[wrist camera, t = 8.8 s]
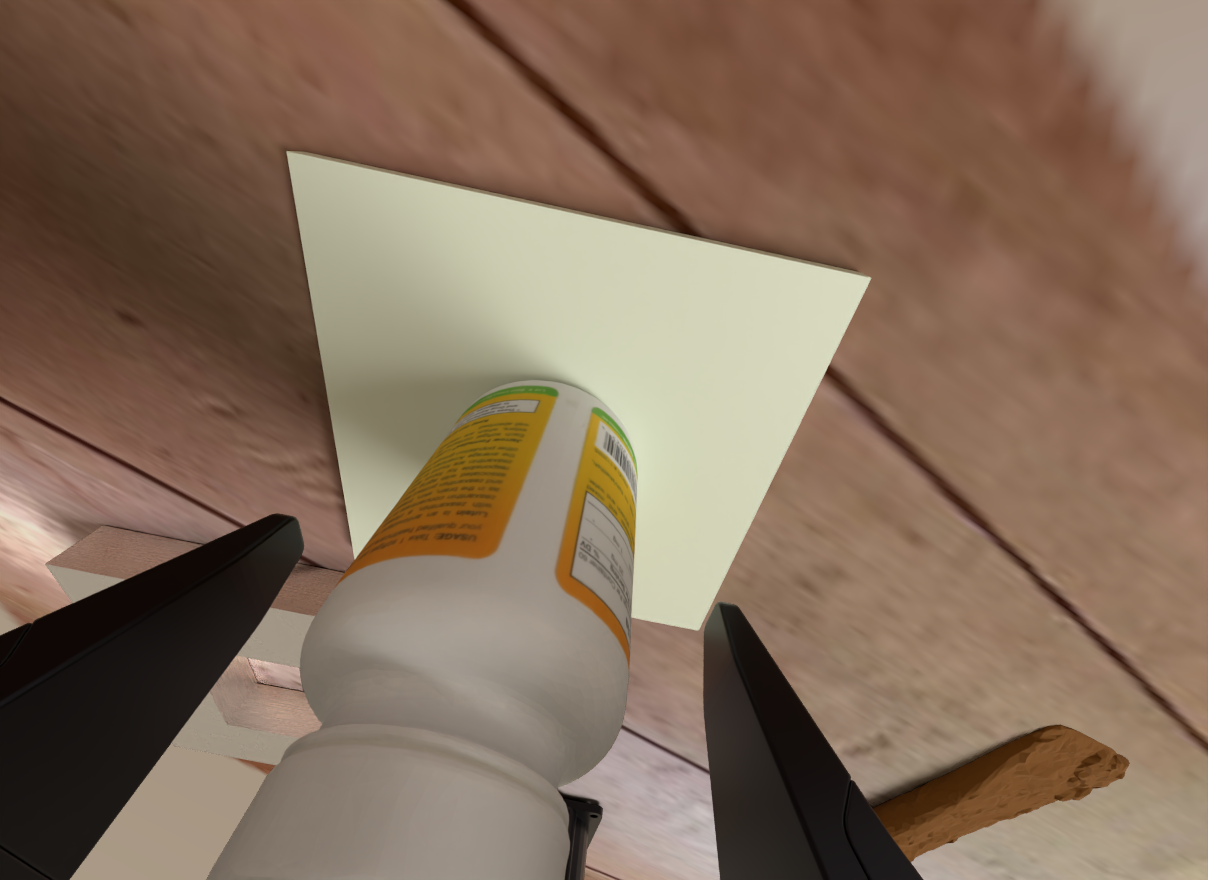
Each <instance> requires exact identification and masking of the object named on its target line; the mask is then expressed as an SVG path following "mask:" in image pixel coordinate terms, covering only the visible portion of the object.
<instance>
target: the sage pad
mask: <svg viewBox="0 0 1208 880" xmlns="http://www.w3.org/2000/svg"><path fill="white" fill-rule="evenodd" d="M287 157H288V163H289V169H290V175H291V181H292V187H293V193H294V199H295V205H296V211H297V217H298V223H299V229H300V235H301V241H302V247H303V253H304V259H305V265H306V271H307V277H308V283H309V289H310V295H311V301H312V307H313V313H314V319H315V325H316V331H317V337H318V343H319V349H320V355H321V361H322V367H323V373H324V379H325V385H326V391H327V397H328V403H329V409H330V415H331V421H332V427H333V433H334V439H335V445H336V451H337V457H338V463H339V469H340V475H341V481H342V487H343V493H344V499H345V505H346V511H347V517H348V523H349V529H350V535H351V541H352V547H353V553H354V559H356V557H357V556H358V555H359V553H360V552H361V551H362V549H363V548H364V546H365V545H366V544H367V542H368V541H369V540H370V538H371V537H372V536H373V534H374V533H375V531H376V530H377V529H378V527H379V526H380V525H381V523H382V522H383V521H384V519H385V518H386V517H387V515H388V514H389V513H390V512H391V510H392V509H393V508H394V506H395V505H396V504H397V502H398V501H399V499H400V498H401V497H402V495H403V494H404V492H405V491H406V490H407V488H408V487H409V486H410V484H411V483H412V482H413V480H414V479H415V478H416V476H417V475H418V474H419V472H420V471H421V470H422V468H423V467H424V465H425V464H426V463H427V461H428V460H429V459H430V457H431V456H432V455H433V453H434V452H435V451H436V449H437V448H438V447H439V445H440V444H441V443H442V441H443V440H444V438H445V437H446V436H447V434H448V433H449V431H450V430H451V429H452V428H453V426H454V425H455V423H456V422H457V421H458V419H459V418H460V417H461V416H462V414H463V413H464V412H465V411H466V410H467V409H468V408H469V406H470V405H471V404H472V403H473V402H474V401H476V400H477V399H478V398H479V397H481V396H482V395H483V394H485V393H487V392H488V391H490V390H492V389H494V388H497V387H499V386H502V385H505V384H508V383H513V382H518V381H526V380H543V381H552V382H558V383H562V384H566V385H569V386H572V387H575V388H578V389H580V390H582V391H584V392H586V393H588V394H590V395H592V396H594V397H595V398H597V399H598V400H600V401H601V402H602V403H604V404H605V405H606V406H607V407H608V408H610V409H611V410H612V412H613V413H614V414H615V415H616V416H617V417H618V418H619V420H620V421H621V422H622V424H623V425H624V427H625V428H626V430H627V432H628V434H629V435H630V438H631V440H632V443H633V446H634V449H635V453H636V459H637V474H638V481H637V507H636V531H635V554H634V573H633V594H632V614H631V617H632V618H637V619H642V620H647V621H652V622H657V623H662V624H667V625H672V626H677V627H682V628H687V629H693V630H699V628H700V626H701V624H702V622H703V620H704V618H705V616H706V614H707V612H708V610H709V608H710V606H711V604H712V602H713V600H714V598H715V596H716V594H717V592H718V590H719V588H720V586H721V584H722V582H723V580H724V577H725V575H726V573H727V571H728V569H729V567H730V565H731V563H732V561H733V559H734V557H735V555H736V553H737V551H738V549H739V547H740V545H741V543H742V541H743V539H744V537H745V535H746V533H747V531H748V529H749V527H750V524H751V522H752V520H753V518H754V516H755V514H756V512H757V510H758V508H759V506H760V504H761V502H762V500H763V498H764V496H765V494H766V492H767V490H768V488H769V486H770V484H771V482H772V480H773V478H774V476H775V474H776V471H777V469H778V467H779V465H780V463H781V461H782V459H783V457H784V455H785V453H786V451H787V449H788V447H789V445H790V443H791V441H792V439H793V437H794V435H795V433H796V431H797V429H798V427H799V425H800V423H801V421H802V418H803V416H804V414H805V412H806V410H807V408H808V406H809V404H810V402H811V400H812V398H813V396H814V394H815V392H816V390H817V388H818V386H819V384H820V382H821V380H822V378H823V376H824V374H825V372H826V370H827V368H828V365H829V363H830V361H831V359H832V357H833V355H834V353H835V351H836V349H837V347H838V345H839V343H840V341H841V339H842V337H843V335H844V333H845V331H846V329H847V327H848V325H849V323H850V321H851V319H852V317H853V315H854V312H855V310H856V308H857V306H858V304H859V302H860V300H861V298H862V296H863V294H864V292H865V290H866V288H867V286H868V284H869V282H870V280H871V277H869V276H867V275H865V274H863V273H861V272H857V271H853V270H848V269H843V268H839V267H834V266H829V265H825V264H820V263H816V262H811V261H806V260H802V259H797V258H793V257H788V256H783V255H779V254H774V253H770V252H765V251H760V250H756V249H751V248H747V247H742V246H737V245H733V244H728V243H723V242H719V241H714V240H710V239H705V238H700V237H696V236H691V235H687V234H682V233H677V232H673V231H668V230H664V229H659V228H654V227H650V226H645V225H641V224H636V223H631V222H627V221H622V220H617V219H613V218H608V217H604V216H599V215H594V214H590V213H585V212H581V211H576V210H571V209H567V208H562V207H558V206H553V205H548V204H544V203H539V202H535V201H530V200H525V199H521V198H516V197H511V196H507V195H502V194H498V193H493V192H488V191H484V190H479V189H475V188H470V187H465V186H461V185H456V184H452V183H447V182H442V181H438V180H433V179H429V178H424V177H419V176H415V175H410V174H405V173H401V172H396V171H392V170H387V169H382V168H378V167H373V166H369V165H364V164H359V163H355V162H350V161H346V160H341V159H336V158H332V157H327V156H323V155H318V154H313V153H309V152H300V151H287Z"/></svg>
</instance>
